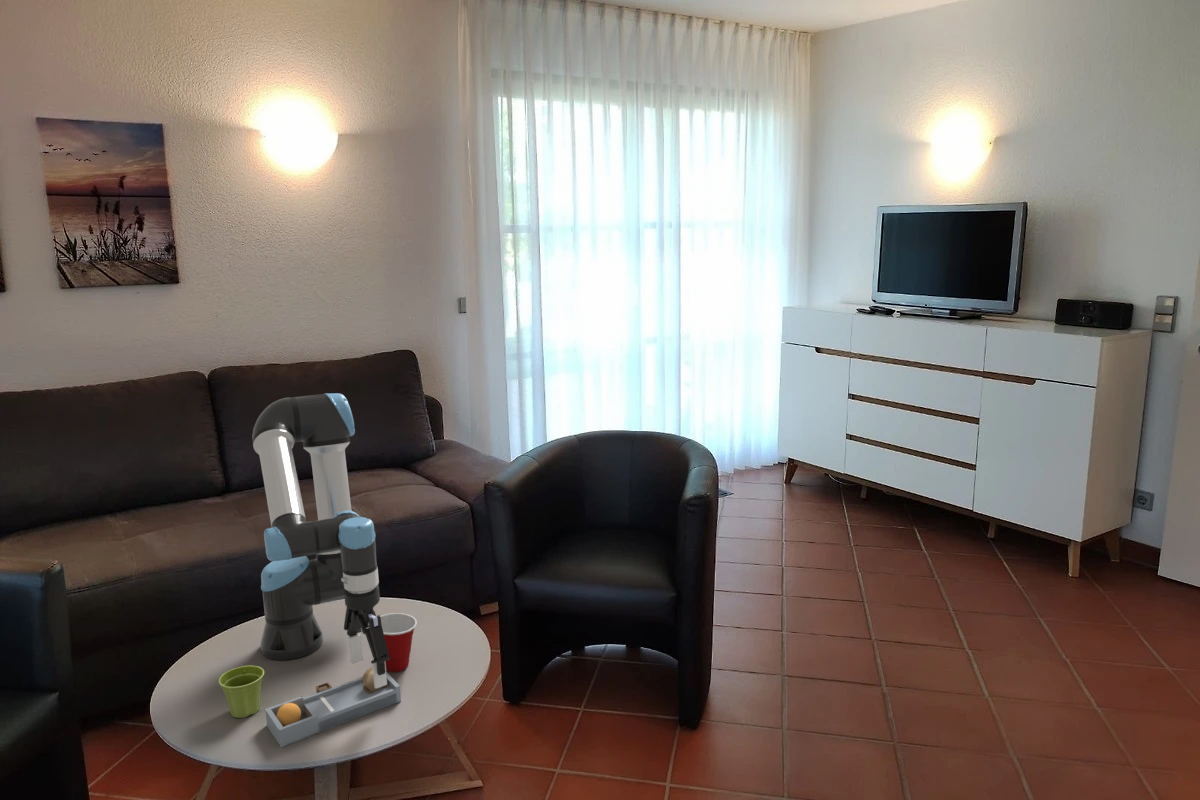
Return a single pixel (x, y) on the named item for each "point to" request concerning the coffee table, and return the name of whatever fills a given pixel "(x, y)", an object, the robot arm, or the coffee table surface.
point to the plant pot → (242, 689)
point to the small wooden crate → (323, 687)
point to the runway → (331, 709)
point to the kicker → (370, 682)
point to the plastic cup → (398, 639)
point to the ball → (288, 714)
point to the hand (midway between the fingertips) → (368, 673)
